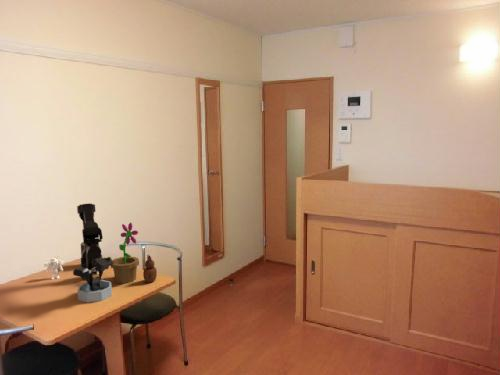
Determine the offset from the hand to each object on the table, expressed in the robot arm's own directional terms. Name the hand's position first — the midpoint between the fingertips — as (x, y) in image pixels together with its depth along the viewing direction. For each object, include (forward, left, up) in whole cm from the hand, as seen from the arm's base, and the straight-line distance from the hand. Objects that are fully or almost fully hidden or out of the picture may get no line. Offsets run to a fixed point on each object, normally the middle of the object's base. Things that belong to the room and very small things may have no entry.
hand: (94, 284), depth 187 cm
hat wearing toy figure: (-6, -36, -6) cm, 37 cm away
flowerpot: (-21, -1, -6) cm, 22 cm away
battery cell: (0, 0, -2) cm, 3 cm away
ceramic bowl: (0, 0, -6) cm, 6 cm away
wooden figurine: (-25, +12, -6) cm, 28 cm away
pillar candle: (-28, -34, -6) cm, 44 cm away
